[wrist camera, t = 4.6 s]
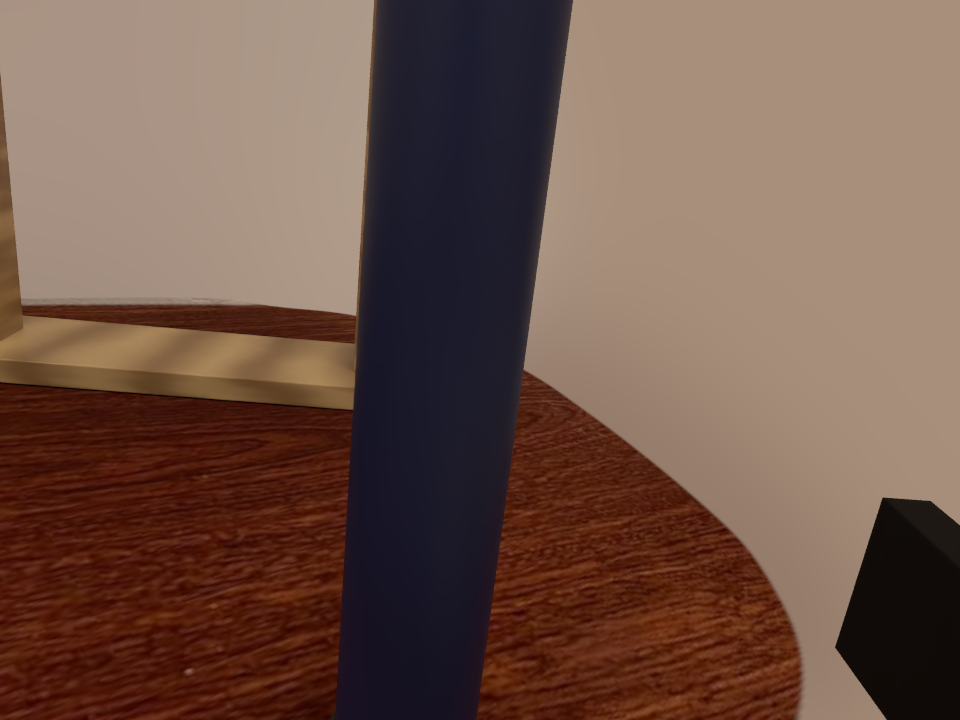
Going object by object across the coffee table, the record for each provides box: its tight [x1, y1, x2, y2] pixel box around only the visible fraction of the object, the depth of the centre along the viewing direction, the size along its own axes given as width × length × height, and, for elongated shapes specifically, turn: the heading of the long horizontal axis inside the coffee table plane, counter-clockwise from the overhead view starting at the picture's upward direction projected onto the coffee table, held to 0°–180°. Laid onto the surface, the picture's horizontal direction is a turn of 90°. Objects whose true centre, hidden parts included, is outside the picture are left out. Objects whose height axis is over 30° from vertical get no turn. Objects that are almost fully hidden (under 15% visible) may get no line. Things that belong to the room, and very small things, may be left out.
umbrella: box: [331, 0, 573, 720], centre depth 21 cm, size 10×4×26 cm, turn 3°
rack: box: [0, 0, 377, 410], centre depth 43 cm, size 25×8×31 cm, turn 93°
